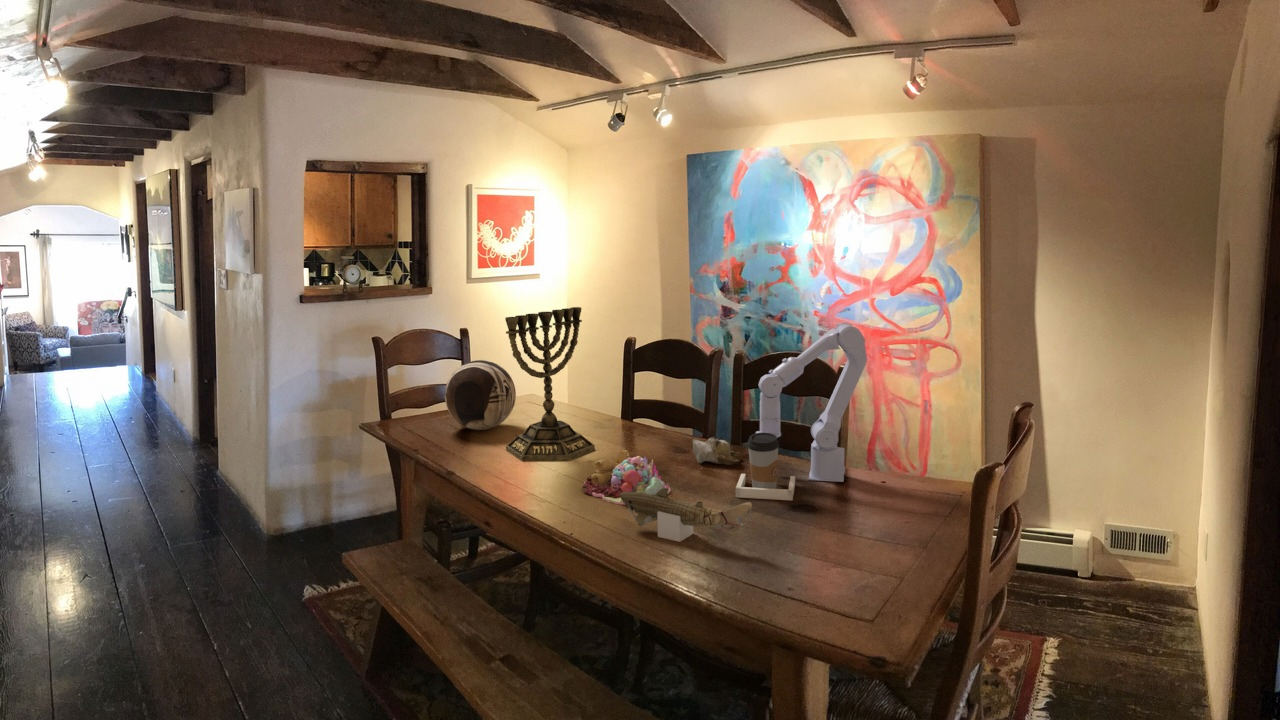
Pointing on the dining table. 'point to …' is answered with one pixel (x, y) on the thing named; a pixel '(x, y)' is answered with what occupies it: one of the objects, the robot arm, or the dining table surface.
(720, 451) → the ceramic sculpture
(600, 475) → the candy landscape model
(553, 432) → the menorah
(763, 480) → the coffee cup
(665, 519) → the wood carving
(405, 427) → the dining table surface
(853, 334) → the robot arm
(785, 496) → the dock
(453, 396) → the sphere
